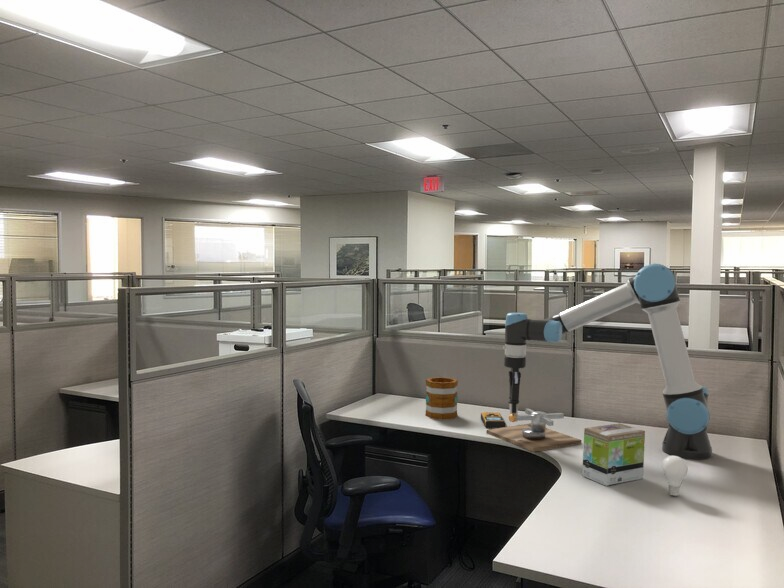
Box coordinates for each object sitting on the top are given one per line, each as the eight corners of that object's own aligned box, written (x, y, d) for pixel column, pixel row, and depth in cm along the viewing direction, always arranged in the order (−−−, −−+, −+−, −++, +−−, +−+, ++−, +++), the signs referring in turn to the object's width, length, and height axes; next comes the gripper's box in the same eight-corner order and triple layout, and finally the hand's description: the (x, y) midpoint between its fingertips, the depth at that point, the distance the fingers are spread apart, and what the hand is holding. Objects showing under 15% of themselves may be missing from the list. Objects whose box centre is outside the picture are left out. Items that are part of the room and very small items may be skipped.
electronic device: (500, 419, 247) (500, 411, 247) (506, 429, 232) (506, 420, 232) (479, 419, 248) (479, 411, 248) (484, 429, 232) (484, 420, 232)
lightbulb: (685, 502, 159) (686, 461, 158) (659, 497, 162) (660, 457, 162) (688, 494, 164) (689, 455, 164) (662, 490, 168) (663, 451, 167)
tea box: (607, 487, 169) (608, 435, 169) (581, 476, 178) (582, 427, 178) (644, 479, 176) (645, 429, 176) (617, 469, 185) (618, 421, 185)
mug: (459, 419, 244) (459, 383, 244) (426, 419, 245) (426, 383, 244) (454, 408, 264) (455, 374, 263) (424, 408, 264) (424, 374, 264)
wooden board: (581, 443, 212) (581, 439, 212) (533, 451, 202) (533, 447, 202) (531, 426, 235) (531, 422, 235) (486, 433, 225) (486, 429, 225)
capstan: (549, 427, 227) (550, 405, 227) (575, 442, 209) (576, 418, 208) (498, 430, 223) (498, 408, 222) (520, 445, 204) (520, 421, 204)
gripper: (503, 352, 221) (501, 416, 222) (506, 358, 208) (504, 425, 209) (523, 353, 220) (521, 416, 222) (528, 359, 207) (526, 426, 209)
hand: (513, 421), depth 216 cm, fingers closed
